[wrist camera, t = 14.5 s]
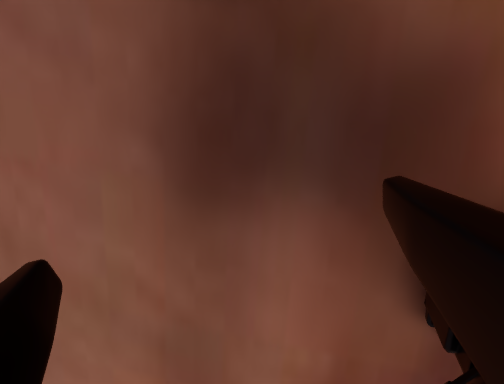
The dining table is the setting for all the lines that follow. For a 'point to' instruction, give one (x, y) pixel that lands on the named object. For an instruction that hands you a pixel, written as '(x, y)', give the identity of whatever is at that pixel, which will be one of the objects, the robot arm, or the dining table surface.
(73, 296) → the dining table surface
